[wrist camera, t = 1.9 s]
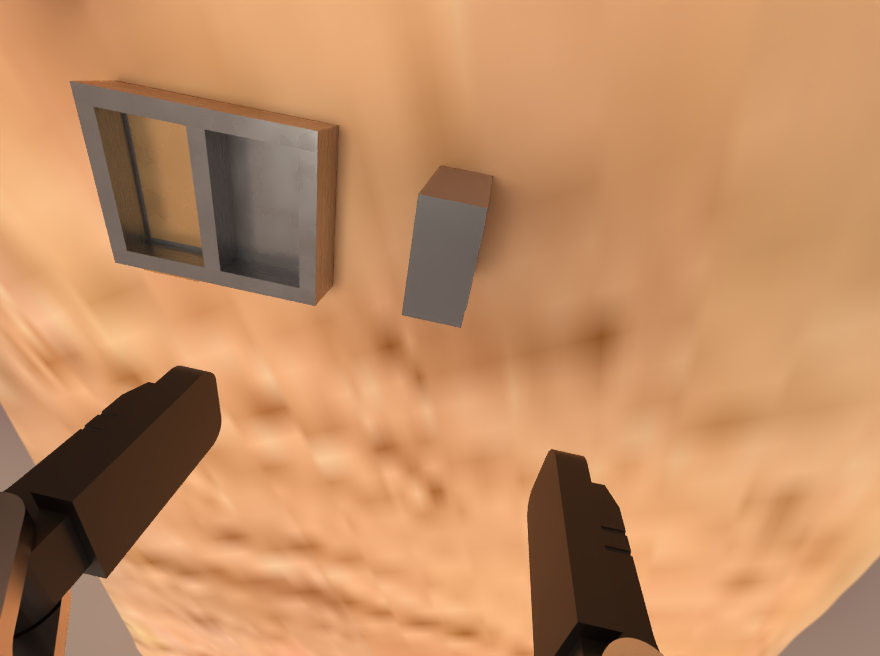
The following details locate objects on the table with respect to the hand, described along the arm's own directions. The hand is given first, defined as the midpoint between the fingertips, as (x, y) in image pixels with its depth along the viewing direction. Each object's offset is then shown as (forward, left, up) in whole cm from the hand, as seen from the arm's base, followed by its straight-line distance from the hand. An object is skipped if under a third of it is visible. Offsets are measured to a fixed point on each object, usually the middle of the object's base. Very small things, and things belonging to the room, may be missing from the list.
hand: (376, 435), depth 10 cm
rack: (+14, +1, -18) cm, 23 cm away
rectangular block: (0, 0, -18) cm, 18 cm away
